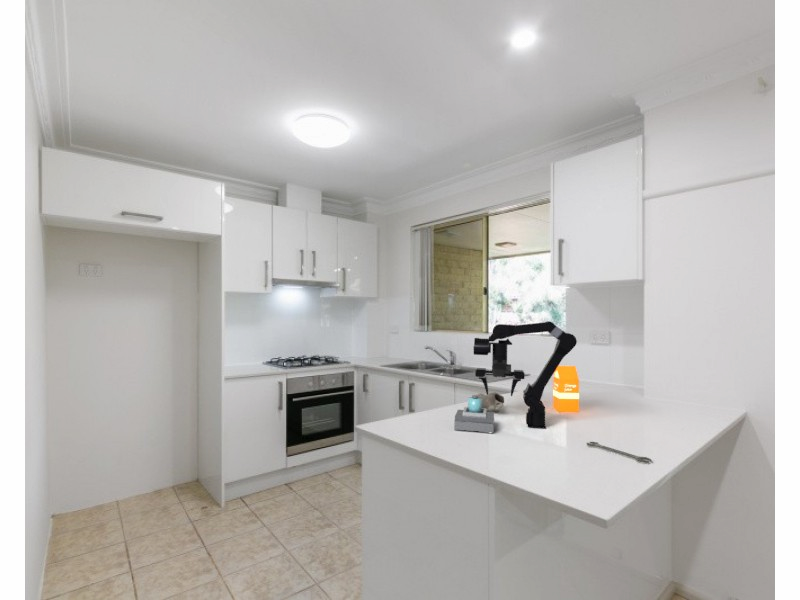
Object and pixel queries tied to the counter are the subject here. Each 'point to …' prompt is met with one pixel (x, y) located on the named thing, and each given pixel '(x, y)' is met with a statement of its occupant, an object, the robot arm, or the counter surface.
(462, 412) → the square aluminium tube flange
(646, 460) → the wrench
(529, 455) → the counter surface
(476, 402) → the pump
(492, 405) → the pipe
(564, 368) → the orange juice
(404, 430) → the counter surface
